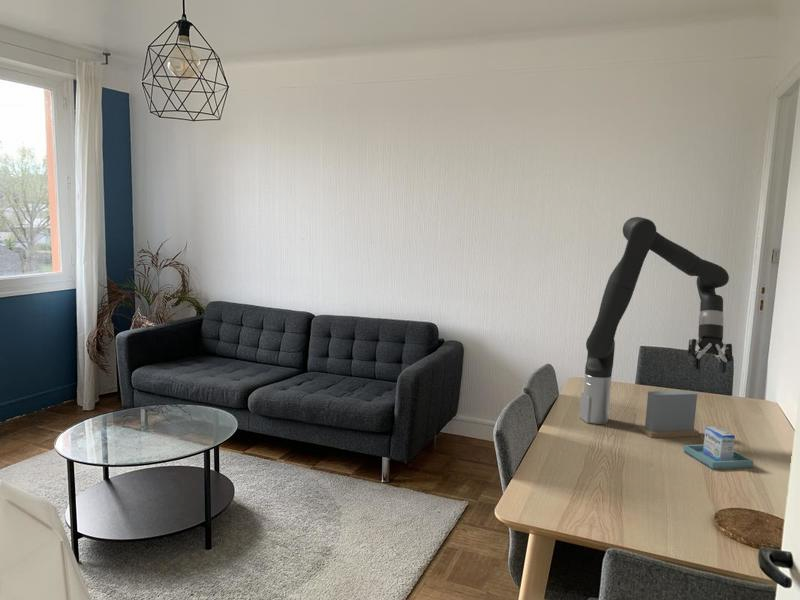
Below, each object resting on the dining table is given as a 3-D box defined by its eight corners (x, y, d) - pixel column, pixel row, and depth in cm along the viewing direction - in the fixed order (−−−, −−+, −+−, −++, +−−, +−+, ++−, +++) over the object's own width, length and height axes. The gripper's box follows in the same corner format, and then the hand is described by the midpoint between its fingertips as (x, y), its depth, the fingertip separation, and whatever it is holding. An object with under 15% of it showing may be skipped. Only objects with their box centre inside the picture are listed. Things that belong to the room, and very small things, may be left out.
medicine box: (702, 452, 187) (705, 426, 186) (714, 452, 188) (717, 426, 187) (719, 462, 179) (722, 435, 178) (732, 462, 180) (735, 435, 179)
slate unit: (651, 437, 201) (654, 396, 199) (639, 430, 208) (643, 390, 206) (698, 435, 204) (702, 395, 202) (685, 428, 211) (689, 389, 209)
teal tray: (712, 469, 176) (712, 462, 175) (683, 451, 189) (683, 445, 189) (752, 467, 178) (753, 460, 178) (721, 450, 191) (721, 443, 191)
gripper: (696, 320, 199) (694, 368, 197) (737, 326, 200) (736, 374, 197) (685, 323, 207) (683, 369, 204) (724, 328, 207) (723, 374, 204)
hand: (709, 371), depth 200 cm, fingers open, 8 cm apart
